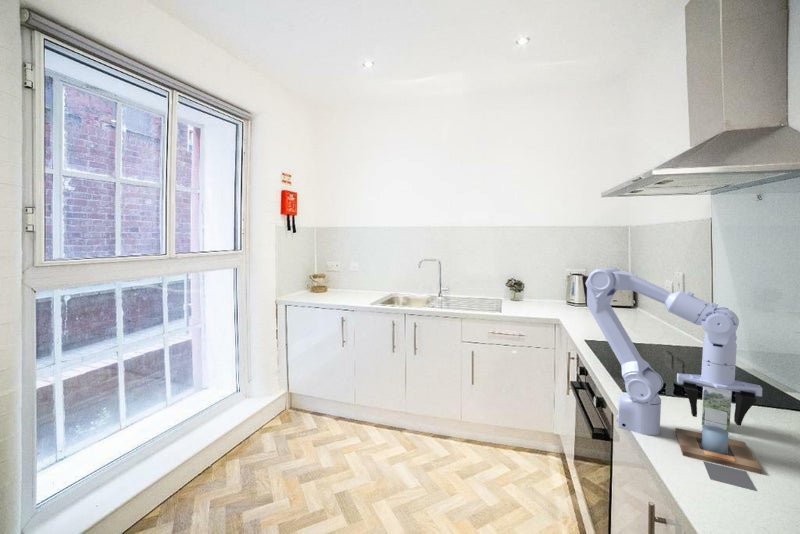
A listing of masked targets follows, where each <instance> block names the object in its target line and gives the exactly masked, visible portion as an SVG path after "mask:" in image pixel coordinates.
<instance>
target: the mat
mask: <svg viewBox="0 0 800 534" xmlns="http://www.w3.org/2000/svg"><path fill="white" fill-rule="evenodd" d="M702 462H703V464H704V467H705V470H706V472H707V475H708V476H709V479H710V480H712V481H716V482H719V483H723V484H728V485H731V486H733V487H739V488H743V489H747V490H751V491H754V492H758V490H757V488H756V486H755V484H754V483H753V481H752V479H751V478H750V475H749V474H748V471H746V470H742V469H738V468H733V467H729V466H725V465H721V464H716V463H712V462H708V461H704V460H702Z"/></svg>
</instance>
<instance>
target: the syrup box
mask: <svg viewBox="0 0 800 534" xmlns="http://www.w3.org/2000/svg"><path fill="white" fill-rule="evenodd" d="M732 395H733V391H729V390H722V389H716V388H710V387H703V386H702V403H701V405H702V406H701V425H702V426H704V425H712V426H716V427H720V428H722V429H724V430H726V431H727V432H728V433H729V432H730V429H731V428H730V426H731V411H732V410H731V409H732V408H731V407H732V398H733V397H732Z"/></svg>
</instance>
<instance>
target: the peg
mask: <svg viewBox="0 0 800 534" xmlns="http://www.w3.org/2000/svg"><path fill="white" fill-rule="evenodd" d="M701 430H702V432H701V433H702V442H701V449H702V450H707V451H711V452H716V453H720V454H725V455H728V451H729V449H728V439H729V432H728V431H726V430H724V429H722V428H720V427H716V426H712V425H702V429H701Z"/></svg>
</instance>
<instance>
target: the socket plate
mask: <svg viewBox="0 0 800 534" xmlns="http://www.w3.org/2000/svg"><path fill="white" fill-rule="evenodd" d="M674 428H675V430H674V431H675V435H676V438H677V442H678V445H679V449H680V451H681V455H682V456H683V457H688V458H691V459H697V460H700V461H704V462H709V463H713V464H717V465H721V466H725V467H730V468H734V469H738V470H742V471H746V472H751V473H755V474H759V475H762V474H763V473H762V472H763V468H762V467H761V466H760V464H759V462H758V461H757V460H756V458H755V456H754V454H753V453H752V452H751V450H750V448H749V446H747V444H746V442H745V441H742V440H736V439H733V438H732V439H731V438H728V451H729V453H730V455H728V454H727V455H725V454H720V453H716V452H711V451H707V450H703V449H702V448H701V447H700V445H699V443H702V432H697V431H692V430H689V429H682V428H679V427H674Z"/></svg>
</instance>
